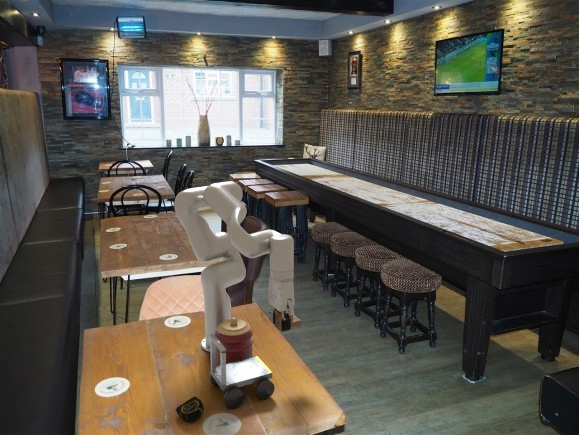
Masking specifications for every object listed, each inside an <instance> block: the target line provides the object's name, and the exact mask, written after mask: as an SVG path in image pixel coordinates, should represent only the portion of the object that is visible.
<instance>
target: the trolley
mask: <svg viewBox="0 0 579 435" xmlns="http://www.w3.org/2000/svg"><path fill="white" fill-rule="evenodd" d="M209 337H210V352H209V353H210V373H209V376H208V378H209V379H208V380H209V382H210V383H211V385H212V386H214V387H217V388H218V387H219V388H220V390H221V391H222V392H225V393H224V395H223V397H222V398H223V399H222V400H223V403H224V405H225V406H226V407H227V409H229V410H236V409H237V408H239V407H240V406H241V405H242V404H243V403H244V400H245V394H244V391H242V389H241V388H242V387H245V386H248V385H253V384H255V386H254V395H255V396H256V397H257V398H258V399H259V400H260V401H261V400H262V401H265V400H267V399H270V398H271V397H272V395H274V392H275V384H274V382H272V381H271V380H270V379H273V372H272V371H271V370H270V368H269V367H268V366H267V365H266V364H265V363H264V362H263V361H262V360H261V359H260V358H259V356H258V355H257V356H253V358H249V359H245V360H241V361H237V362H233V363H229V364H226V349H225V347H224V346H223V345H222V344H221V342H220V341H219V340H218V339H217V337H216V336H215V335H214V334H210V336H209ZM215 345H216V346H217V348H218V349H219V350H220V361H221V366H217V367H216V353H215Z"/></svg>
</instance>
